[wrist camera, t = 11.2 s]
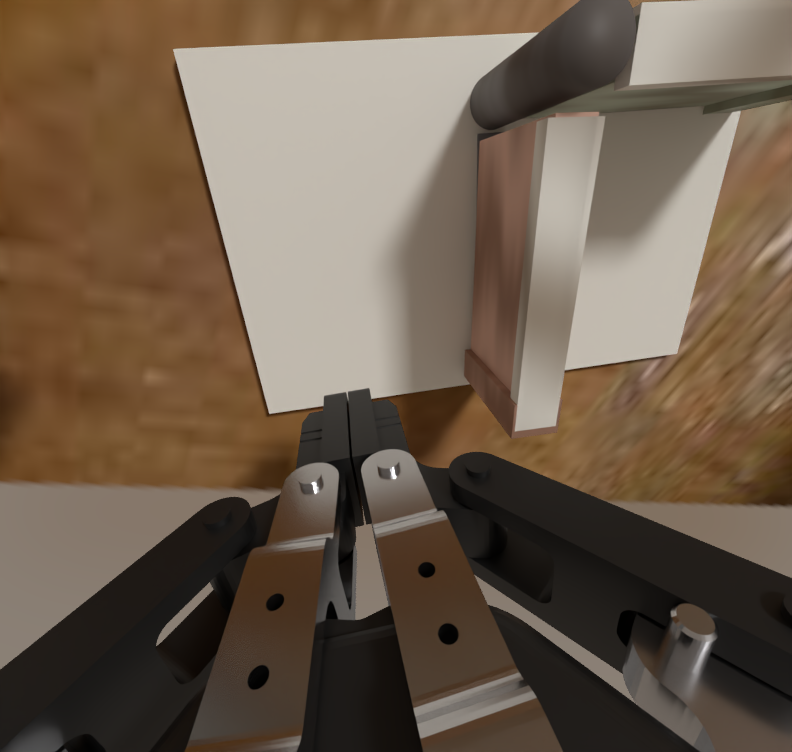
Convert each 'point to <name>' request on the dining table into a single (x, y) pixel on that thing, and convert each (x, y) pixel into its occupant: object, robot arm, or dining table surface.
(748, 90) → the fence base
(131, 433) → the dining table surface
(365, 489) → the robot arm
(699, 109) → the card
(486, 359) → the fence panel
